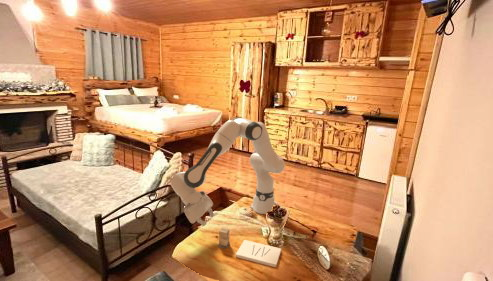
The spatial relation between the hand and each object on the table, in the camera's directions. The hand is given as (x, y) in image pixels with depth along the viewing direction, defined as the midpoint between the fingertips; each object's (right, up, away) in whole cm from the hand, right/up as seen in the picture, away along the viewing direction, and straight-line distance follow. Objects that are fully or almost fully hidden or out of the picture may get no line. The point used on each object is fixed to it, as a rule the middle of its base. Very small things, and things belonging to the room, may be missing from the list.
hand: (209, 220), depth 134 cm
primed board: (+26, -15, -6) cm, 30 cm away
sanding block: (+8, -13, 0) cm, 15 cm away
